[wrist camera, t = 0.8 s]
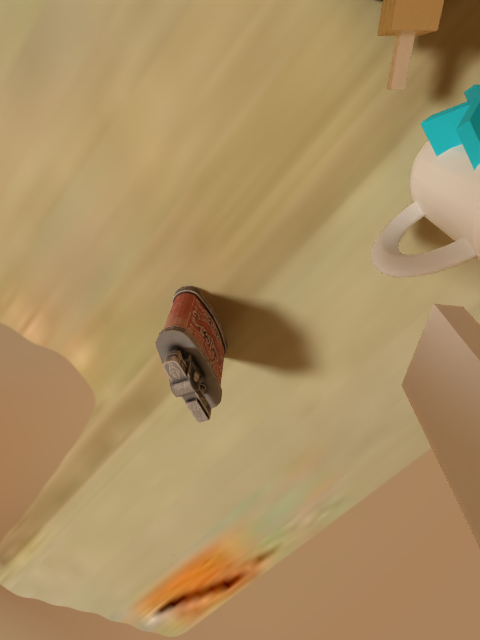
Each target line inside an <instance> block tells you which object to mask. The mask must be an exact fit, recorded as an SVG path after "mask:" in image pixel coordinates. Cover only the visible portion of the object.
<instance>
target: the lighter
mask: <svg viewBox="0 0 480 640" xmlns="http://www.w3.org/2000/svg"><path fill="white" fill-rule="evenodd" d="M172 304H173V306H172V309H171V311H170V314H169V316H168V319H167V322H166V324H165V327H164V329H163V330H162V331H161V332H160V333H159V336H158V338H157V341H156V347H157V350H158V352H159V355H160V357H161V360H162V363H163V368H164V370H165V372H166V373H167V375H168V376H169V380H170V386H171V390H172V392H173V394H174V395H175V396H176V397H178V396H181V397H182V399H183V400H184V402H185V403H186V405H187V406H188V408H189V410H190V411H191V413H192V414H193V416H194V417H195V419H196V420H197V421H198V422H200V423H201V422H205V421H208V420H209V419H210V415H211V408H214V407H216V406H217V405H218V404H219V403H220V401H221V397H222V389H221V386H220V385H221V377H222V369H223V361H224V356H225V355H226V353H227V342H226V338H225V334H224V331H223V328H222V326H221V324H220V321H219V319H218V317H217V315H216V313H215V312H214V310H213V308H212V307H211V305H210V303H209V302H208V301H207V300H206V298H205V297H204V296H203V294H202V293H201V292H200V291H199V290H198V289H197V288H195V287H192V286H185V287H181V288H180V289H178V290H177V291H176V292H175V295H174V297H173V300H172Z"/></svg>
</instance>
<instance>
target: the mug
mask: <svg viewBox="0 0 480 640" xmlns="http://www.w3.org/2000/svg"><path fill="white" fill-rule="evenodd" d="M464 94H465V96H466V98H467V102H465V103H462V104H460V105H457V106H455V107H452V108H449V109H447V110H444V111H442V112H439V113H437V114H434V115H432V116H430V117H429V118H427V119H426V120H425V121H423V122H422V123H421V125H422V127H423V129H424V131H425V133H426V135H427V137H428V141H427V142H426V143H425V144H424V145H423V147H422V148H421V149H420V151H419V153H418V155H417V156H416V158H415V160H414V163H413V166H412V169H411V175H410V191H411V196H412V199H413V201H414V202H413V203H412V204H410V205H409V206H407V207H406V208H405V209H403V210H402V211H401V212H400V213H399V214H397V215H396V216H395V217H394V218H393V219H392V220H391V221H390V222H389V223H388V224H387V225H386V226H385V228H384V229H383V230H382V231H381V232H380V234H379V236H378V237H377V239H376V241H375V243H374V245H373V248H372V253H371V259H372V262H373V266H374V267H375V268H376V269H377V270H379V271H380V272H381V273H383V274H386V275H390V276H393V277H417V276H422V275H427V274H433V273H437V272H440V271H443V270H446V269H449V268H452V267H455V266H458V265H460V264H462V263H464V262H466V261H468V260H470V259H472V258H474V257H476V258H477V259H478V260H479V261H480V85H474V86H472V87H471V88H469V89H468V90H467V91H465V92H464ZM423 217H425V218H427V219H428V220H429V221H431V222H432V223H433V224H434V225H436V226H437V227H438V228H439V229H441V230H442V231H443V232H444V233H446V234H447V235H448V236H449V237H451V238H452V239H453V240H454V241H455V242H453V243H451V244H449V245H446V246H443V247H441V248H438V249H435V250H433V251H429V252H425V253H421V254H416V255H405V254H402V253H401V252H400V251H399V249H398V246H399V242H400V240H401V238H402V236H403V235H404V234H405V233H406V231H407V230H408V229H409V228H410V227H411V226H412V225H413V224H415V223H416V222H417V221H418V220H420V219H421V218H423Z"/></svg>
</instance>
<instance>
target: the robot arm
mask: <svg viewBox="0 0 480 640" xmlns="http://www.w3.org/2000/svg"><path fill="white" fill-rule="evenodd" d="M402 387H403V389H404V391H405V393H406V395H407V397H408V399H409V401H410V404H411V406H412V408H413V410H414V412H415V414H416V416H417V418H418V420H419V422H420V424H421V426H422V429H423V431H424V433H425V435H426V437H427V439H428V441H429V443H430V445H431V447H432V449H433V451H434V453H435V456H436V458H437V460H438V462H439V464H440V466H441V468H442V470H443V472H444V474H445V476H446V479H447V481H448V482H449V485H450V487H451V489H452V491H453V493H454V495H455V497H456V499H457V502H458V504H459V505H460V508H461V510H462V512H463V514H464V516H465V518H466V520H467V522H468V524H469V527H470V529H471V530H472V533H473V535H474V537H475V539H476V541H477V543H478V545H479V547H480V325H479V324H478V323H477V321H476V320H475V319H474V318H473V317H472V316H471V315H470V314H469V313H468V312H467V311H466V310H465V308H464V307H460V306H450V305H440V304H434V305H433V308H432V310H431V313H430V315H429V318H428V320H427V323H426V325H425V328H424V330H423V333H422V335H421V338H420V340H419V343H418V345H417V348H416V350H415V353H414V355H413V358H412V360H411V363H410V365H409V368H408V370H407V373H406V375H405V378H404V380H403V383H402Z"/></svg>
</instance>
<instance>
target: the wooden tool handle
mask: <svg viewBox="0 0 480 640" xmlns="http://www.w3.org/2000/svg"><path fill="white" fill-rule="evenodd" d="M443 4H444V0H383V4H382V10H381V16H380V23H379V29H378V36H396V39H395V45H394V51H393V56H392V62H391V68H390V73H389V79H388V85H387V89H389V90H404V89H405V84H406V79H407V74H408V69H409V64H410V59H411V54H412V49H413V43H414V38H415V36H421V35H424V34H428V33H431V32H435V31H438V27H439V22H440V17H441V13H442V8H443Z"/></svg>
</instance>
